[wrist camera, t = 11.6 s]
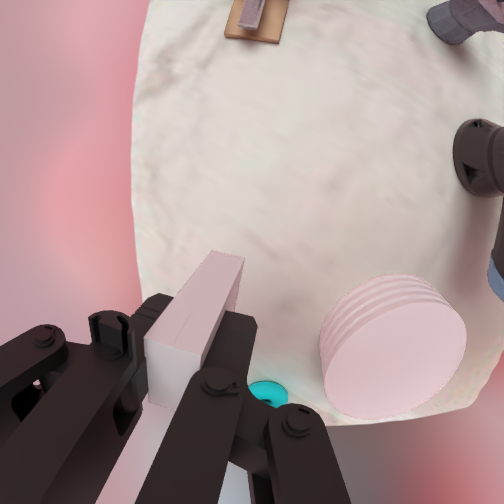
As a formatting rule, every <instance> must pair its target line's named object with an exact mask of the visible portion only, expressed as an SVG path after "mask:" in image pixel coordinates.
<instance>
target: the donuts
mask: <svg viewBox="0 0 504 504" xmlns="http://www.w3.org/2000/svg"><path fill="white" fill-rule="evenodd" d="M248 388H249V389H250V391H251V392H252V394H253V395H254V396H255V397H257V398H258V399H259V400H261V401H263V402H264V403H266V404H268V405H271V406H273V407H275V408H278V407H279V406H281V405H284V404H286V403H287V401H288V394H287V392H286V390H285V389H284V388H283V387H282V386H280V385H279V384H276V383H273V382H267V381H263V382H257V383H254V384H252V385H251V386H249V387H248ZM262 399H268V400H270V401H264V400H262Z"/></svg>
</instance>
